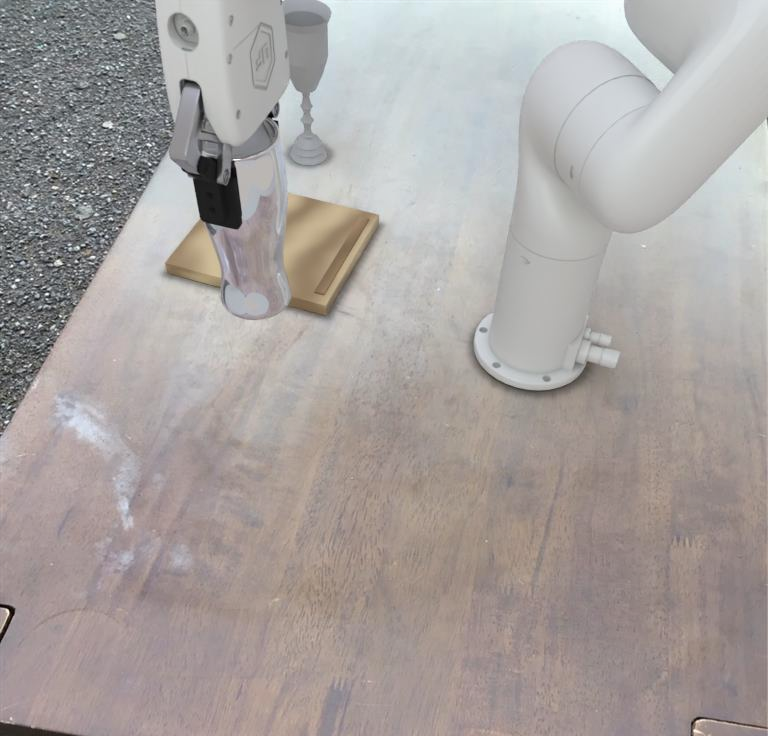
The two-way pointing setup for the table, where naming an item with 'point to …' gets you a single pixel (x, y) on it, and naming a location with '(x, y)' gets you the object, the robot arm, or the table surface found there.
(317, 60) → the chalice
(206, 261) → the serving board
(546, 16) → the table surface
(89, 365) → the table surface
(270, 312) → the beer glass
